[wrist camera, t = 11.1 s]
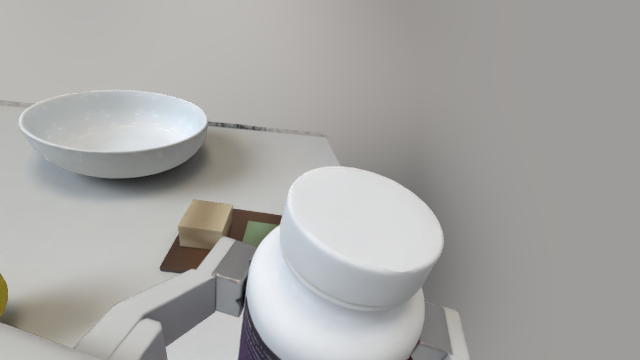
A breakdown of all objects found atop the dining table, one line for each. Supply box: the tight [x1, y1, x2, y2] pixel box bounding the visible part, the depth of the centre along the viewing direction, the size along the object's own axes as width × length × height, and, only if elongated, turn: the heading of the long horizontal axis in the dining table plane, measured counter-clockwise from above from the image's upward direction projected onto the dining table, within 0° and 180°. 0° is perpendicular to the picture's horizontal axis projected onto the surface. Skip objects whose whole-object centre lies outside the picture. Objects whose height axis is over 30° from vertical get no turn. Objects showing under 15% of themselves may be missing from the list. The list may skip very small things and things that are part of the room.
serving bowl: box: [18, 90, 208, 178], centre depth 40 cm, size 21×21×7 cm
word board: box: [160, 199, 282, 273], centre depth 32 cm, size 20×10×4 cm, turn 92°
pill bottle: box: [238, 166, 444, 360], centre depth 9 cm, size 5×5×10 cm
